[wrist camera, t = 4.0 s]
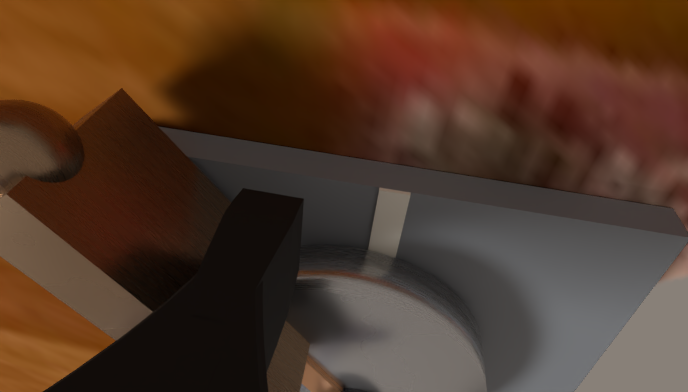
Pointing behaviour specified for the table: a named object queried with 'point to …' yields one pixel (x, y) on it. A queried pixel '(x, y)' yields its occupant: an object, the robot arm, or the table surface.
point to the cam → (190, 248)
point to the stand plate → (475, 247)
